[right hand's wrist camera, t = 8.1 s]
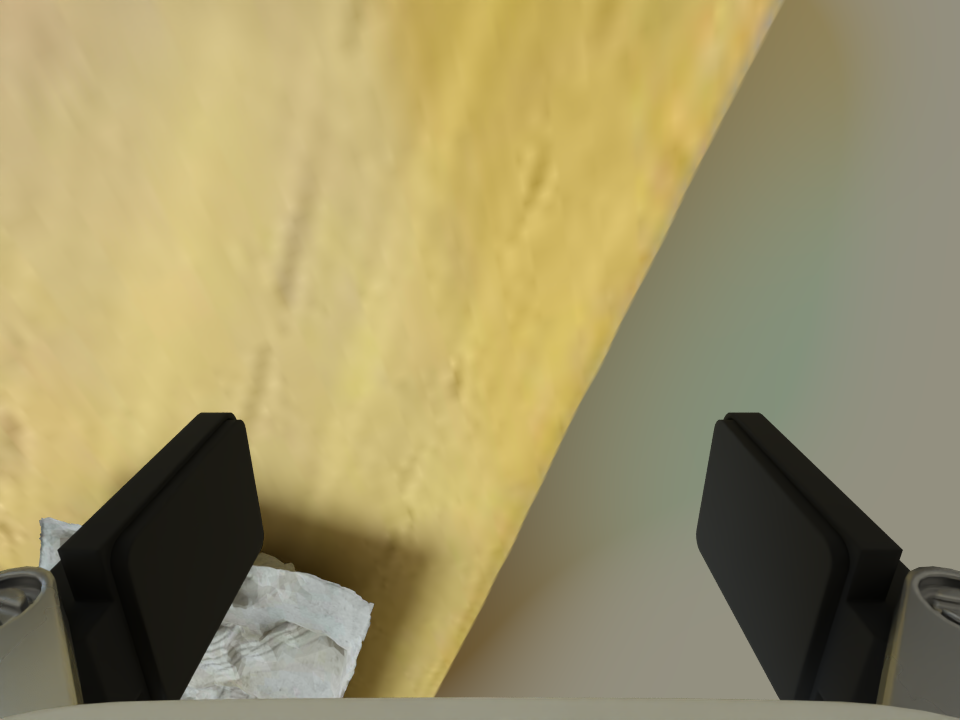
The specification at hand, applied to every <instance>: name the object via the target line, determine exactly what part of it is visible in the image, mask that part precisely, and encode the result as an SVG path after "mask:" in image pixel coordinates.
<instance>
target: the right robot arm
mask: <svg viewBox="0 0 960 720" xmlns="http://www.w3.org/2000/svg"><path fill="white" fill-rule="evenodd" d="M263 539H264V531H263V525H262V519H261V513H260V507H259V502H258V496H257V490H256V485H255V479H254V473H253V467H252V462H251V456H250V450H249V444H248V439H247V433H246V428H245V424H244V422H243V421H242V420H236V417H235V416H234V414H232V413H200V414H198V415H197V416H196V417H195V418H194V419H193V420H192V421H191V422H190V423H189V424H188V425H187V426H186V427H184V428H183V429H182V430H181V431H180V432H179V433H178V434H177V435H176V436H175V437H174V438H173V439H172V440H171V441H170V442H169V443H168V444H167V445H166V446H165V447H164V448H163V449H162V450H161V451H160V452H158V453H157V454H156V455H155V456H154V457H153V458H152V459H151V460H150V461H149V462H148V463H147V464H146V465H145V466H144V467H143V468H142V469H141V470H140V471H139V472H138V473H137V474H136V475H135V476H134V477H133V478H131V479H130V480H129V481H128V482H127V483H126V484H125V485H124V486H123V487H122V488H121V489H120V490H119V491H118V492H117V493H116V494H115V495H114V496H113V497H112V498H111V499H110V500H109V501H108V502H107V503H105V504H104V505H103V506H102V507H101V508H100V509H99V510H98V511H97V512H96V513H95V514H94V515H93V516H92V517H91V518H90V519H89V520H88V521H87V522H86V523H85V524H84V525H83V526H82V527H81V528H79V529H78V530H77V531H76V532H75V533H74V534H73V535H72V536H71V537H70V538H69V539H68V540H67V541H66V542H65V543H64V544H63V545H62V546H61V547H60V548H59V549H58V550H57V551H58V554H59V557H60V561H59V562H58V563H57V564H56V565H55V566H54V567H53V568H52V569H51V570H50V571H48V570H46V569H44V568H41V567H28V566H26V567H19V568H12V569H7V570H4V571H0V720H960V571H956V570H953V569H948V568H941V567H934V566H932V567H919V568H916V569H914V570H912V571H910V570H909V569H908V568H907V567H906V566H905V565H904V564H903V563H902V562H901V561H900V557H901V554H902V551H903V550H902V549H901V548H900V547H899V546H898V545H897V544H896V543H895V542H894V541H893V540H892V539H891V538H890V537H889V536H888V535H887V534H886V533H885V532H884V531H883V530H881V528H879V527H878V526H877V525H876V524H875V523H874V522H873V521H872V520H871V519H870V518H869V517H868V516H867V515H866V514H865V513H864V512H863V511H862V510H861V509H860V508H859V507H858V506H857V505H856V504H854V503H853V502H852V501H851V500H850V499H849V498H848V497H847V496H846V495H845V494H844V493H843V492H842V491H841V490H840V489H839V488H838V487H837V486H836V485H835V484H834V483H833V482H832V481H831V480H830V479H828V478H827V477H826V476H825V475H824V474H823V473H822V472H821V471H820V470H819V469H818V468H817V467H816V466H815V465H814V464H813V463H812V462H811V461H810V460H809V459H808V458H807V457H806V456H805V455H804V454H803V453H802V452H800V451H799V450H798V449H797V448H796V447H795V446H794V445H793V444H792V443H791V442H790V441H789V440H788V439H787V438H786V437H785V436H784V435H783V434H782V433H781V432H780V431H779V430H778V429H777V428H776V427H774V426H773V425H772V424H771V423H770V422H769V421H768V420H767V419H766V418H765V417H764V416H763V415H762V414H760V413H728V414H726V416H725V417H724V420H718V421H717V422H716V424H715V428H714V433H713V439H712V445H711V450H710V456H709V462H708V467H707V473H706V479H705V485H704V490H703V496H702V502H701V508H700V513H699V519H698V525H697V531H696V539H697V545H698V548H699V550H700V552H701V554H702V556H703V558H704V560H705V562H706V564H707V565H708V567H709V569H710V571H711V573H712V575H713V577H714V578H715V580H716V582H717V584H718V586H719V588H720V590H721V591H722V593H723V595H724V597H725V599H726V601H727V603H728V604H729V606H730V608H731V610H732V612H733V614H734V616H735V617H736V619H737V621H738V623H739V625H740V627H741V629H742V630H743V632H744V634H745V636H746V638H747V640H748V642H749V643H750V645H751V647H752V649H753V651H754V653H755V655H756V656H757V658H758V660H759V662H760V664H761V666H762V667H763V669H764V671H765V673H766V675H767V677H768V679H769V681H770V682H771V684H772V686H773V688H774V690H775V692H776V694H777V695H778V697H779V699H780V700H753V699H687V698H686V699H685V698H514V697H511V698H510V697H449V698H447V697H446V698H273V699H207V700H180V699H181V697H182V695H183V694H184V692H185V690H186V688H187V686H188V684H189V682H190V681H191V679H192V677H193V675H194V673H195V671H196V669H197V668H198V666H199V664H200V662H201V660H202V658H203V656H204V655H205V653H206V651H207V649H208V647H209V645H210V643H211V642H212V640H213V638H214V636H215V634H216V632H217V630H218V629H219V627H220V625H221V623H222V621H223V619H224V617H225V616H226V614H227V612H228V610H229V608H230V606H231V604H232V603H233V601H234V599H235V597H236V595H237V593H238V591H239V590H240V588H241V586H242V584H243V582H244V580H245V578H246V577H247V575H248V573H249V571H250V569H251V567H252V566H253V564H254V562H255V560H256V558H257V556H258V554H259V553H260V550H261V548H262V545H263Z"/></svg>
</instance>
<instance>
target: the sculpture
mask: <svg viewBox="0 0 960 720" xmlns="http://www.w3.org/2000/svg"><path fill="white" fill-rule="evenodd" d="M39 522H40V526H41V534H40V536H41V537H40V538H39V539H40V540H41V549H40V562H39V567H41V568H44V569H46V570H48V571H50V570H51V569H52V568H53V567H54V566H55V565H56V564H57V563H58V562H59V561H60V557H59V554H58V551H57V550H58V549H59V548H60V547H61V546H62V545H63V544H64V543H65V542H66V541H67V540H68V539H69V538H70V537H71V536H72V535H73V534H74V533H75V532H76V531H77V530H78V529H79V528H81V527H82V526H81V525H78V524H77V525H76V524H72V523H71V524H68V523H66V522H61V521H59V520H56V519H53V518H50V517H48V518H45V519H43V518H42V519H41V520H39ZM373 606H374V604H373V603H369V604H368V602H367V601H365V600H363V599H362V597H361V596H359V595H357V594H356V593H355V591H353V590H351V589H349V588H346V587H341V586H340V585H339V584H336V583H333V582H329V581H326V580H323V579H321V578H318V577H317V576H315V575H311V574H308V573H301V572H297V571H296V570H295V568H294V565H293V564H292V563H287V564H284V563H282V562H281V561H279V560H278V559H277V558H276V557H274V556H271V555H268V554H266V553H263V552H262V553H259V554H258V556H257V558H256V560H255V562H254V564H253V566H252V567H251V569H250V571H249V573H248V575H247V577H246V578H245V580H244V582H243V584H242V586H241V588H240V590H239V591H238V593H237V595H236V597H235V599H234V601H233V603H232V604H231V606H230V608H229V610H228V612H227V614H226V616H225V617H224V619H223V621H222V623H221V625H220V627H219V629H218V630H217V632H216V634H215V636H214V638H213V640H212V642H211V643H210V645H209V647H208V649H207V651H206V653H205V655H204V656H203V658H202V660H201V662H200V664H199V666H198V668H197V669H196V671H195V673H194V675H193V677H192V679H191V681H190V682H189V684H188V686H187V688H186V690H185V692H184V694H183V695H182V697H181V699H180V700H207V699H273V698H343V696H344V693H345V691H346V688H347V686H348V683H349V681H350V679H352V676H353V674H354V669H355V667H356V659H357V656H358V654H359V651H360V649H361V647H362V640H363V641H364V639H365V636H366V633H367V631H368V628H369V626H370V623H371V622H370V619H371V616H370V614H371V612H372V609H373Z"/></svg>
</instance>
